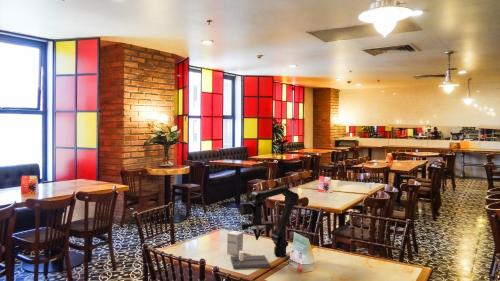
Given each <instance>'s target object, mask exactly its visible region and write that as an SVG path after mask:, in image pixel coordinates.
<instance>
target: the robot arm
mask: <svg viewBox="0 0 500 281" xmlns="http://www.w3.org/2000/svg"><path fill="white" fill-rule="evenodd" d="M279 195H282V196H283V197H284V207H283V210H282V212H281V213H282V214H281V216H280V219H279V223H278V225H277V227H276V228H274V227H275V226H274V223H273V222H272V221H271V220H270V221H268V220H267V221H264V223H263V206H266V203H264V201H266V200H267V199H269V198H272V197H276V196H279ZM299 200H300V196H299V194H298V193H297V192H294V191H292V190H291V189H289V188H288V187H287V186H284V185H280V186H277V187H275V188H274V187H273V188H270V189H267V190H266V189H265V190H256V191H255V190H254V191H252V192H251V194H250V196H249V199H248V200H247V201H246V202H245V203H243V202H242V203H240V204H241V205H240V206H239V214H240V216H242V217H243V216H247V221H248V222H250V223H248V222H246V221H245V222H241V223H240V225H239V226H240V229H241V230H243V231H245V230H248V229H249V228H250V230H251V231H252V232H253V235H254V238H255V240H256V241H259V238H260V235H261V234H262V232H263V231H264V230H265V229H264V227H266V228H267V229H272V232H271V234H270V235H271V236H270V238H271V240H272V243H273V244H274V247H273V248H274V249H273V251H274V252H273V255H275V257H276V258H277V257H279V258H280V257H282V258H283V257H288V254H287V247H289V242H288V240H286V237H287V235H286V234H287V233H286V229H287V226H288V223H289V220H290V217H291V214H292V212H293V209H294V207H295V206H296V205H297V203H298V201H299Z"/></svg>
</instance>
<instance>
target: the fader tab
mask: <svg viewBox="0 0 500 281" xmlns="http://www.w3.org/2000/svg"><path fill="white" fill-rule="evenodd" d="M238 256H239V260H240V261H243V257H244V256H245V255H244V251H239V255H238Z"/></svg>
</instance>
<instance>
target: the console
mask: <svg viewBox="0 0 500 281" xmlns="http://www.w3.org/2000/svg"><path fill="white" fill-rule="evenodd" d="M230 263H231V266H232V268H233V270H236V269H237V270H239V269H260V268H261V269H263V268H264V269H265V268H270V263H269V261H268V259H267V257H266V255H264V254H261V255H244V257H243V261H240V260H239V255H233V256H230Z"/></svg>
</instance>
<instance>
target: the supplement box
mask: <svg viewBox="0 0 500 281" xmlns="http://www.w3.org/2000/svg"><path fill="white" fill-rule="evenodd" d="M226 239H227V240H226V242H227V244H226V254H229V255H233V256H239V251H243V250H244V248H243V246H244V245H243V244H244V232H243V231H237V230H232V231H230V232H227V238H226ZM243 252H244V251H243Z"/></svg>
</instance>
